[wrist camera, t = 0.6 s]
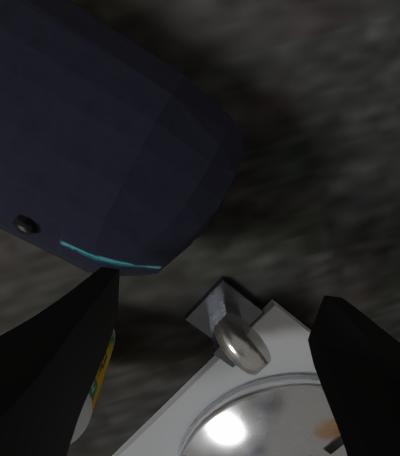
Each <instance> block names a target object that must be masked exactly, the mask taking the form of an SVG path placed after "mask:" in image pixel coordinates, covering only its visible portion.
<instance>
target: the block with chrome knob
mask: <svg viewBox="0 0 400 456" xmlns="http://www.w3.org/2000/svg"><path fill="white" fill-rule="evenodd" d="M263 314H264V310H263V308H261V307H260V306H259V305H258V304H256V303H255V302H254V301H253V300H251V299H250V298H249V297H247V296H246V295H245V294H244V293H242V292H241V291H240V290H239V289H237V288H236V287H235V286H233V285H232V284H231V283H230V282H228V281H227V280H226V279H224V278H223V277H221V278H220V279H219V280H218V282H217V283H216V284H215V285H214V286H213V287H212V288H211V289H210V290H209V291H208V292H207V293H206V294H205V295H204V296H203V297H202V298H201V299H200V300H199V301H198V302H197V303H196V305H195V306H194V307H193V308H192V309H191V310H190V311H189V312H188V313H187V314H186V315H185V320H187V321H188V322H189V323H191V324H192V325H193V326H195V327H196V328H198V329H199V330H200V331H202V332H203V333H205V334H206V335H207V336H209V337H210V338H212V347H213V354H214V355H216V356H217V357H218V358H220V359H221V360H223V361H224V362H225V363H227V364H228V365H230V366H231V367H234V366H235V365H236V366H237V367H238V368H240V369H241V370H243V371H244V372H246V373H248V374H250V375H257V374H258V373H259V372H260V371H261V370H262V369H263V368H265V367H266V366H267V365H268V364H269V363H270V362H271V355H270V352H269V350H268V348H267V346H266V344H265V343H264V341H263V340H262V338H261V337H260V336H259V334H258V333H257V332H256V331H255V330H254V329H253V328H252V327H251V326H252V325H253V324H254V323H255V322H256V321H257V320H258V319H259V318H260V317H261V316H262V315H263Z"/></svg>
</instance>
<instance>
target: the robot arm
mask: <svg viewBox="0 0 400 456" xmlns="http://www.w3.org/2000/svg"><path fill="white" fill-rule="evenodd" d="M119 273H120V269H115V268H107V267H101V268H99V269H98V270H97V271H95V272H94V273H93V274H92V275H90V276H89V277H88V278H87V279H85V280H84V281H83V282H82V283H80V284H79V285H78V286H76V287H75V288H74V289H73V290H71V291H70V292H69V293H67V294H66V295H65V296H63V297H62V298H60V299H59V300H58V301H56V302H55V303H53V304H52V305H51V306H49V307H48V308H46V309H45V310H43V311H42V312H40V313H39V314H37V315H36V316H34V317H32V318H31V319H29V320H28V321H26V322H24V323H22V324H21V325H19V326H17V327H15V328H14V329H12V330H10V331H8V332H6V333H5V334H3V335H1V336H0V456H66V455H67V452H68V449H69V446H70V443H71V440H72V437H73V434H74V430H75V427H76V424H77V421H78V418H79V416H80V413H81V410H82V408H83V405H84V403H85V400H86V398H87V396H88V393H89V391H90V389H91V386H92V384H93V382H94V379H95V377H96V375H97V372H98V370H99V368H100V365H101V363H102V360H103V358H104V356H105V353H106V351H107V348H108V346H109V344H110V340H111V337H112V334H113V330H114V327H115V323H116V319H117V313H118V293H119ZM308 343H309V347H310V352H311V356H312V360H313V364H314V367H315V370H316V373H317V375H318V378H319V381H320V383H321V386H322V389H323V391H324V394H325V396H326V399H327V401H328V404H329V406H330V409H331V412H332V414H333V417H334V419H335V422H336V424H337V427H338V429H339V432H340V435H341V438H342V441H343V444H344V446H345V449H346V453H347V456H400V343H399V342H398V341H397V340H395V339H394V338H393V337H392V336H390V335H389V334H388V333H387V332H385V331H384V330H383V329H381V328H380V327H379V326H378V325H377V324H375V323H374V322H373V321H372V320H370V319H369V318H368V317H367V316H365V315H364V314H363V313H362V312H360V311H359V310H358V309H356V308H355V307H354V306H353V305H351V304H350V303H348V302H347V301H346V300H344V299H343V298H340V297H332V296H324V298H323V301H322V304H321V306H320V309H319V311H318V314H317V317H316V319H315V322H314V325H313V327H312V330H311V332H310V335H309V338H308Z"/></svg>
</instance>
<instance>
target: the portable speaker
mask: <svg viewBox="0 0 400 456" xmlns="http://www.w3.org/2000/svg"><path fill="white" fill-rule="evenodd" d="M243 151H244V140H243V134H242V133H241V131H240V130H239V128H238V127H237V125H236V124H235V122H234V121H233V119H232V118H231V117H230V115H228V114H227V113H226V112H225V111H224V110H223V109H222V108H221V107H220V106H219V105H217V104H216V103H215V102H214V101H213V100H212V99H211V98H210V97H209V96H208V95H206V94H205V93H204V92H203V91H202V90H201V89H200V88H199V87H198V86H197V85H195V84H194V83H193V82H192V81H191V80H190V79H189V78H188V77H187V76H185V75H184V74H182V73H181V72H179V71H178V70H176V69H175V68H173V67H172V66H170V65H168V64H167V63H165V62H164V61H162V60H161V59H159V58H158V57H156V56H155V55H153V54H151V53H150V52H148V51H147V50H145V49H144V48H142V47H141V46H139V45H138V44H136V43H135V42H133V41H131V40H130V39H128V38H127V37H125V36H124V35H122V34H121V33H119V32H118V31H116V30H114V29H113V28H111V27H110V26H108V25H107V24H105V23H104V22H102V21H101V20H99V19H97V18H96V17H94V16H93V15H91V14H90V13H88V12H87V11H85V10H84V9H82V8H80V7H79V6H77V5H76V4H74V3H73V2H71V1H70V0H0V229H2V230H4V231H6V232H8V233H10V234H12V235H14V236H16V237H18V238H20V239H23V240H25V241H27V242H29V243H31V244H33V245H35V246H37V247H39V248H41V249H43V250H45V251H47V252H49V253H51V254H53V255H55V256H57V257H60V258H61V259H63V260H65V261H67V262H69V263H71V264H73V265H75V266H77V267H79V268H81V269H82V270H84V271H86V272H92V273H94V272H95V271H97V270H98V269H99V268H101V267H107V268H115V269H120V273H119V276H138V275H150V274H156V273H158V272H159V271H160V270H162V269H163V268H164V267H165V266H166V265H167V264H169V263H170V262H171V261H172V260H173V259H174V258H176V257H177V256H178V255H179V254H180V253H182V252H183V251H184V250H185V249H186V248H187V247H189V246H190V245H191V243H192V242H193V241H194V240H195V239H196V238H198V237H199V236H200V235H201V234H203V233H204V231H205V229H206V228H207V226H208V225H209V223H210V221H211V220H212V218H213V217H214V215H215V213H216V212H217V210H218V209H219V207H220V205H221V204H222V202H223V200H224V198H225V196H226V193H227V192H228V190H229V188H230V186H231V184H232V183H233V181H234V178H235V175H236V173H237V170H238V167H239V164H240V161H241V158H242V156H243Z"/></svg>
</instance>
